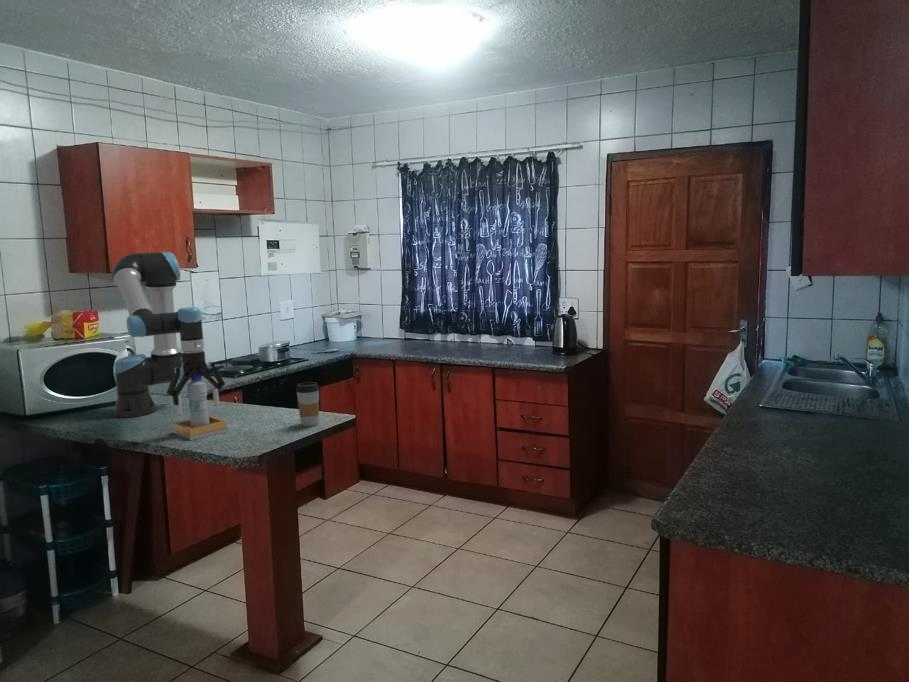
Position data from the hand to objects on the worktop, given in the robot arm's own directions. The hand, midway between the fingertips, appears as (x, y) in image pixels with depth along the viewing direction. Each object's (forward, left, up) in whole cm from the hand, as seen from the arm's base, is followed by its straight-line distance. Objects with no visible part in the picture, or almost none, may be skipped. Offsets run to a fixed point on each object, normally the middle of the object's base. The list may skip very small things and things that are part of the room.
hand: (198, 409), depth 236 cm
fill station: (0, 0, -8) cm, 8 cm away
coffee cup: (+23, +31, -8) cm, 40 cm away
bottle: (0, 0, -7) cm, 7 cm away
